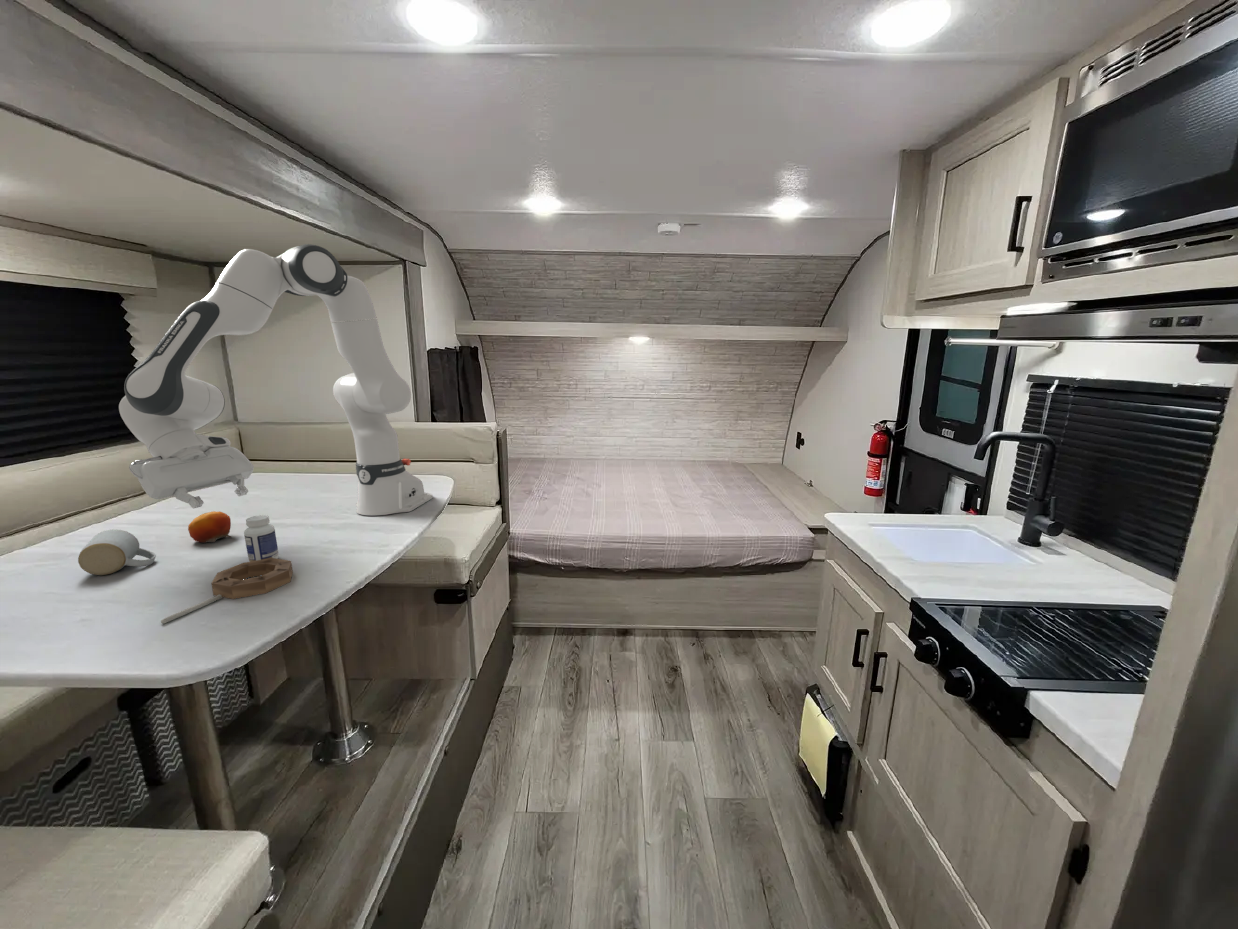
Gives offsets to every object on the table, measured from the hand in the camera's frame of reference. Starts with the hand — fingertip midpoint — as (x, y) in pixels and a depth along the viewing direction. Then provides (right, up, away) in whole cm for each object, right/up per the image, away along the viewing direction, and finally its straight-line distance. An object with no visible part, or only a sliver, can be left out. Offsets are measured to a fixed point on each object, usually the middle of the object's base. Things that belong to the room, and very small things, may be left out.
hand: (222, 499), depth 107 cm
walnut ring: (+15, -16, -11) cm, 24 cm away
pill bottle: (+9, -13, 0) cm, 16 cm away
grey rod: (+12, -18, -21) cm, 30 cm away
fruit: (-12, -11, +13) cm, 21 cm away
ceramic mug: (-19, -14, -3) cm, 24 cm away
